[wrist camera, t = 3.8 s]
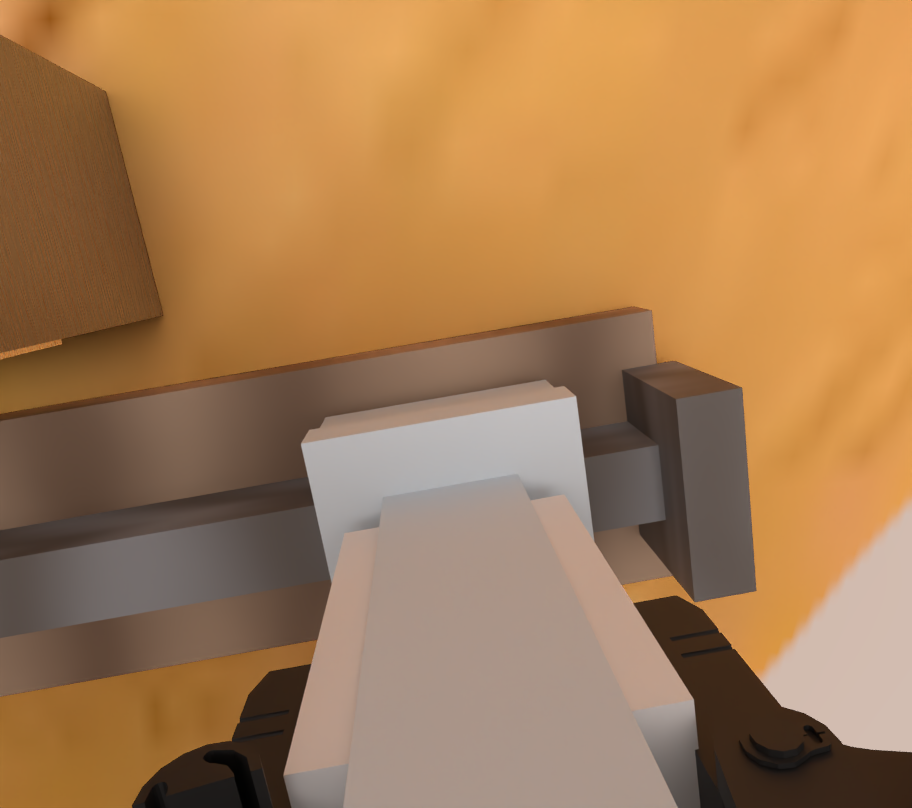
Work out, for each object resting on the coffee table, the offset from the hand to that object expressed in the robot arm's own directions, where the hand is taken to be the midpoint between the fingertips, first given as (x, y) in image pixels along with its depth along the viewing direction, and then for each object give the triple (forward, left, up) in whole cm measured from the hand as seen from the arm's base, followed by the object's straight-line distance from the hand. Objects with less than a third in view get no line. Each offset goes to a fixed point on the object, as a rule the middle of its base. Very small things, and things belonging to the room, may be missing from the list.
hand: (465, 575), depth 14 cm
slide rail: (-5, 0, -7) cm, 9 cm away
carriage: (0, 0, -5) cm, 5 cm away
